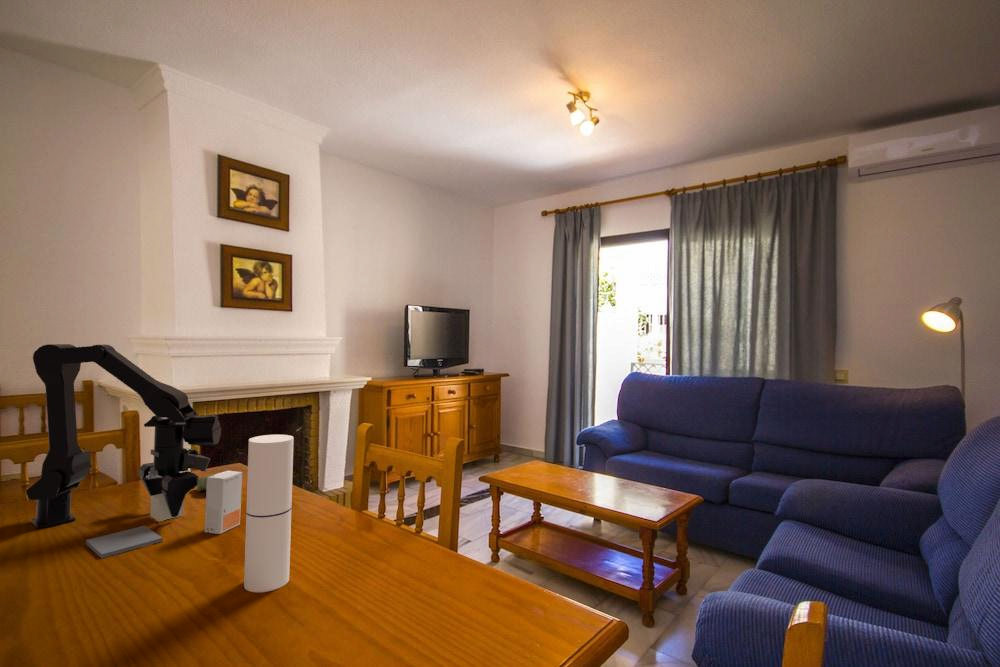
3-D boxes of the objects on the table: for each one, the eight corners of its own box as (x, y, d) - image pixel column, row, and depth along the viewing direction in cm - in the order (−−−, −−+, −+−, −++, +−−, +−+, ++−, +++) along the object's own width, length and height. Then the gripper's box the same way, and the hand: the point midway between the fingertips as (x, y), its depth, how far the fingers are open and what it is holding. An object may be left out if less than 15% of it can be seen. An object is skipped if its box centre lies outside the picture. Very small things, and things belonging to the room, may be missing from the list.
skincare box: (220, 534, 105) (222, 478, 105) (203, 532, 106) (205, 477, 106) (241, 524, 111) (243, 471, 111) (224, 522, 112) (226, 470, 112)
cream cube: (150, 517, 114) (150, 495, 114) (174, 511, 118) (175, 490, 118) (158, 522, 111) (159, 500, 111) (183, 516, 115) (183, 495, 115)
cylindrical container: (244, 596, 81) (248, 444, 81) (244, 576, 87) (248, 436, 88) (290, 586, 84) (295, 441, 85) (287, 569, 91) (291, 433, 91)
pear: (212, 475, 129) (189, 476, 133) (214, 496, 129) (191, 496, 133) (232, 470, 134) (209, 471, 138) (234, 490, 134) (211, 490, 138)
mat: (85, 544, 99) (86, 540, 99) (144, 529, 107) (144, 525, 107) (101, 558, 93) (101, 554, 93) (162, 541, 101) (162, 537, 101)
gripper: (223, 445, 116) (221, 512, 115) (190, 434, 127) (188, 495, 127) (170, 453, 107) (167, 525, 107) (138, 441, 118) (136, 506, 118)
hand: (166, 512), depth 115 cm, fingers open, 9 cm apart
